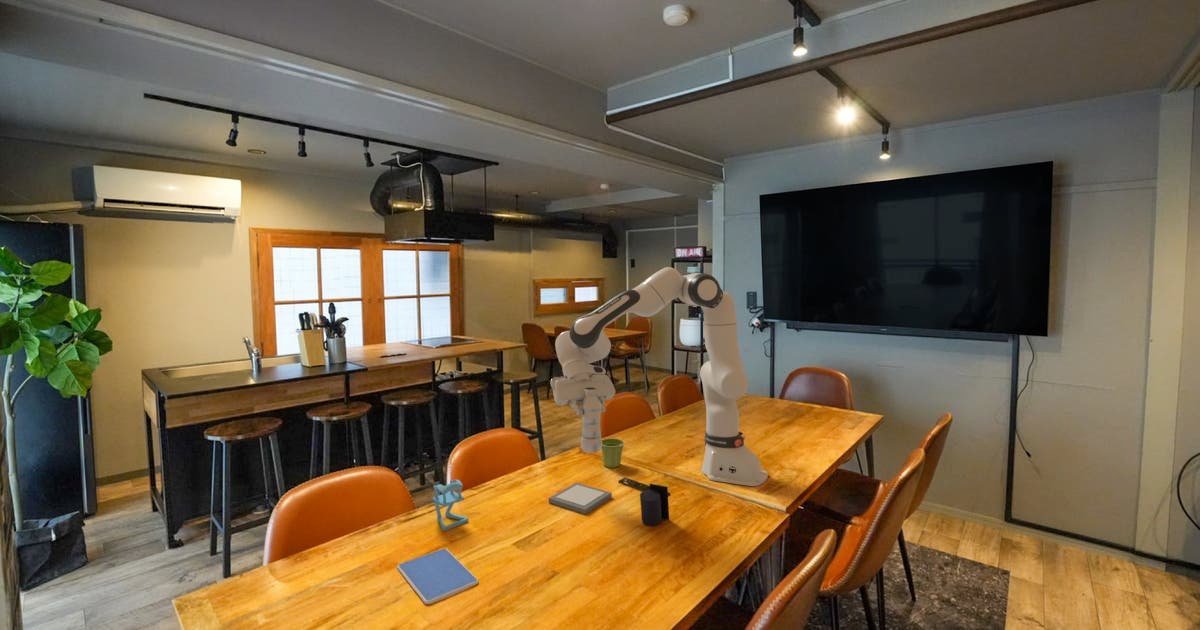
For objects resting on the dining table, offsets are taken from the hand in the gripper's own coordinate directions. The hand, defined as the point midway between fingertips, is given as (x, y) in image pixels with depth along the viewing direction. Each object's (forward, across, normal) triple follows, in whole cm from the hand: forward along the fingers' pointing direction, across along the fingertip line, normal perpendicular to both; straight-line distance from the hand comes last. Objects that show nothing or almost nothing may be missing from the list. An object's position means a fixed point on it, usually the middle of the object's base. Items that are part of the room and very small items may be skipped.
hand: (591, 412), depth 158 cm
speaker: (+35, +9, +4) cm, 36 cm away
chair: (+15, -42, +26) cm, 51 cm away
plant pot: (+4, +20, +35) cm, 41 cm away
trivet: (+19, -3, +21) cm, 28 cm away
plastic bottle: (+8, +1, +10) cm, 13 cm away
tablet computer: (+34, -50, +8) cm, 61 cm away
